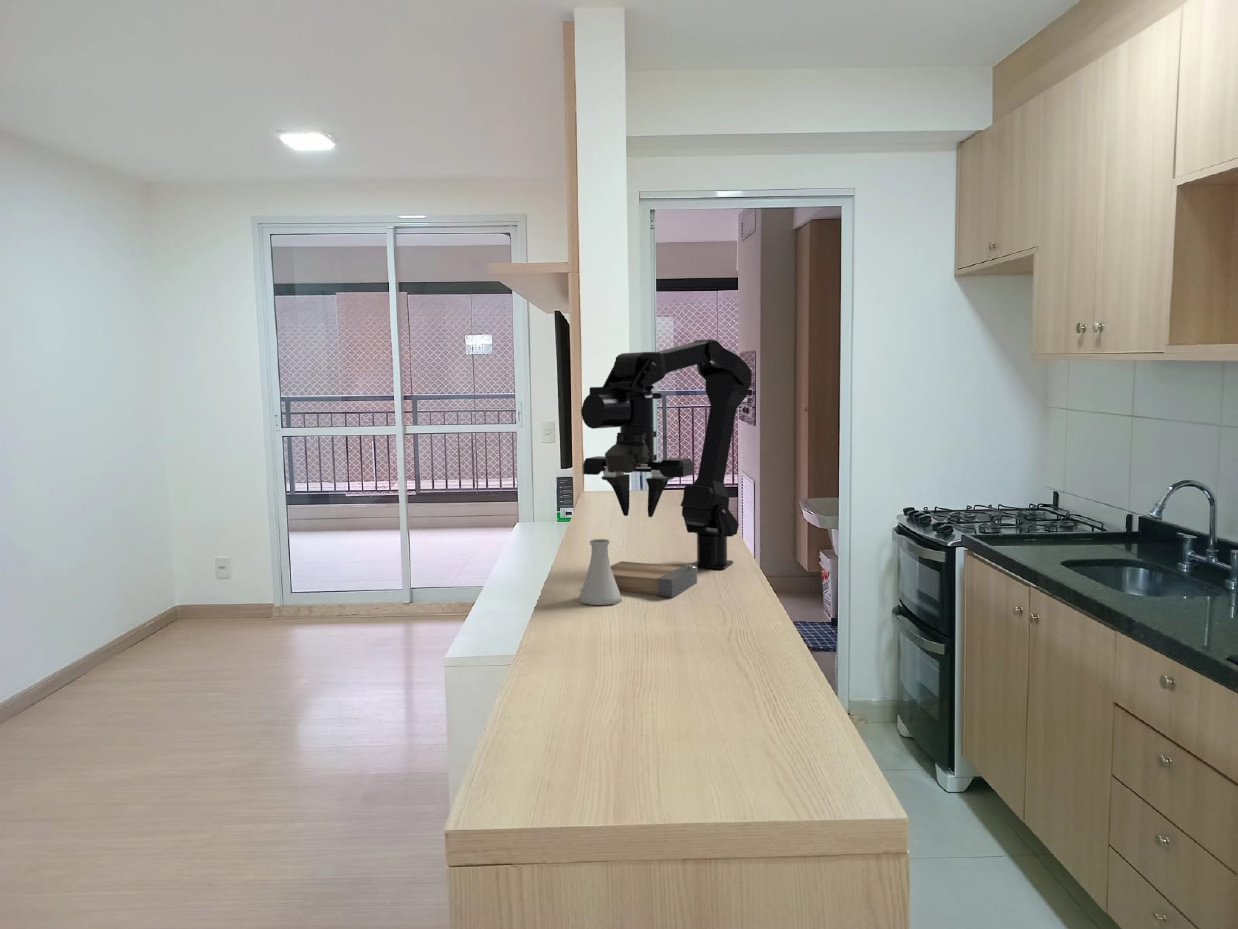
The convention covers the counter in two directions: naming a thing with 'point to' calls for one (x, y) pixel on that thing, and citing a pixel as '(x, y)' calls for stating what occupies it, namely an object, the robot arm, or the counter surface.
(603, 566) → the flask
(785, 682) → the counter surface
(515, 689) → the counter surface
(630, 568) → the tan square panel
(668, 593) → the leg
